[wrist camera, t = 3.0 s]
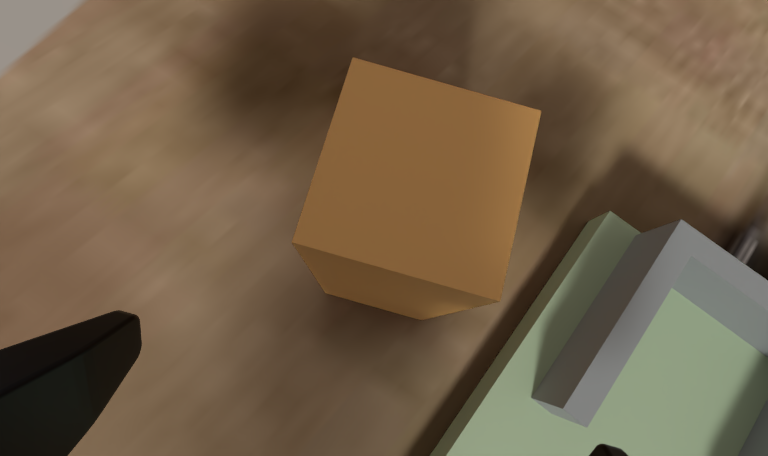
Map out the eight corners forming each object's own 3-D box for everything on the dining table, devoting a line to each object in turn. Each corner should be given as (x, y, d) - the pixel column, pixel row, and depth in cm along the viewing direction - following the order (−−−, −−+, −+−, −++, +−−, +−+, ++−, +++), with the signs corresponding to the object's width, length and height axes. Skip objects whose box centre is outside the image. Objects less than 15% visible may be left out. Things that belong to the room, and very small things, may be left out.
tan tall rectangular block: (420, 320, 22) (500, 301, 10) (325, 293, 22) (291, 241, 10) (444, 227, 23) (541, 110, 11) (353, 201, 23) (352, 57, 11)
